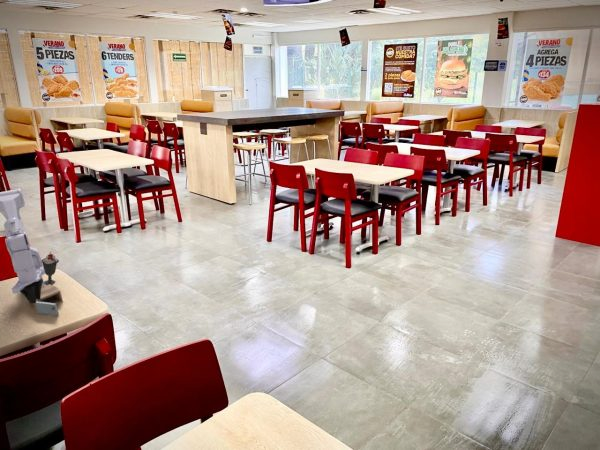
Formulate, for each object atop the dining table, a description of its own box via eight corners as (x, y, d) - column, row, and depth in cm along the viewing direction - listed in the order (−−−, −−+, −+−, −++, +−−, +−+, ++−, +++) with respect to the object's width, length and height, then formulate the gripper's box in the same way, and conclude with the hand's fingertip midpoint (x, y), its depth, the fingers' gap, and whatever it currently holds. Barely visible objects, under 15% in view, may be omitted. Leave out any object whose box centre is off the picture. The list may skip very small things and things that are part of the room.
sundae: (48, 287, 188) (48, 254, 184) (37, 283, 190) (36, 250, 186) (62, 282, 194) (62, 250, 190) (51, 278, 196) (51, 245, 192)
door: (39, 311, 170) (36, 301, 169) (59, 314, 168) (56, 303, 167) (36, 314, 169) (33, 303, 167) (56, 316, 167) (53, 305, 165)
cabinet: (29, 304, 176) (25, 293, 174) (52, 294, 183) (49, 283, 181) (39, 312, 171) (35, 300, 169) (62, 301, 177) (59, 290, 175)
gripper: (21, 277, 150) (32, 312, 155) (48, 257, 163) (57, 290, 168) (2, 276, 151) (13, 311, 156) (30, 257, 164) (40, 290, 169)
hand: (35, 300), depth 162 cm, fingers closed
